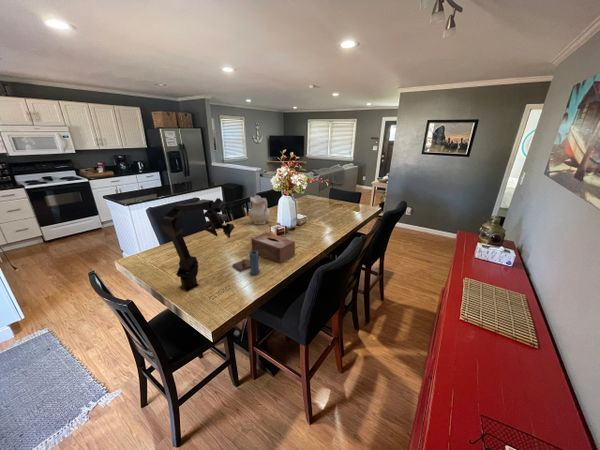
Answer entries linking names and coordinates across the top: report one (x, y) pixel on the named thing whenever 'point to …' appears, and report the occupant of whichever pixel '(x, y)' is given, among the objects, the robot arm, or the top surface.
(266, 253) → the tissue box cover
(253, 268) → the blue sleeve
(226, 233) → the robot arm
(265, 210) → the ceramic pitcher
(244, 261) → the brown plate with knob
